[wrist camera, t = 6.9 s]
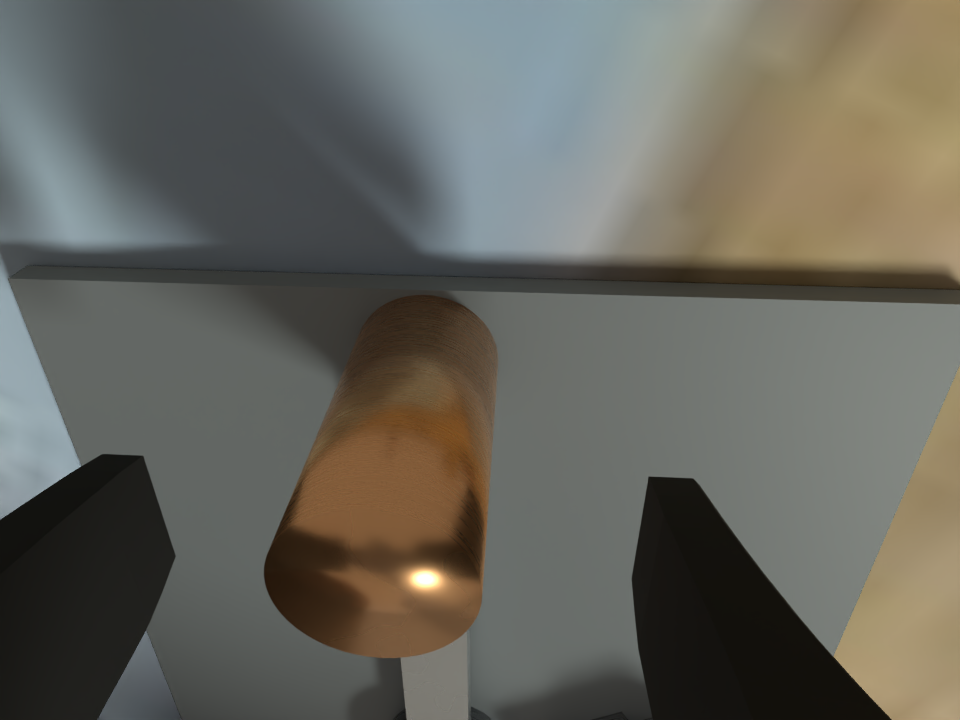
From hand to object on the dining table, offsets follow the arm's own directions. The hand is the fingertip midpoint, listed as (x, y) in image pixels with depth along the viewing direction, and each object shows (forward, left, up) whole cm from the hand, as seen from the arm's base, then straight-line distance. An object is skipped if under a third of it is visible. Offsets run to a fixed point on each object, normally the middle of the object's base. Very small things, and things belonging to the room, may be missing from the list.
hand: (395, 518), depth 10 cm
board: (-8, -1, -5) cm, 9 cm away
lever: (-8, 0, -4) cm, 9 cm away
